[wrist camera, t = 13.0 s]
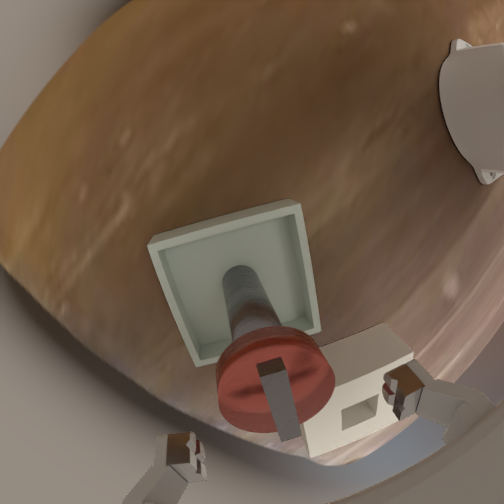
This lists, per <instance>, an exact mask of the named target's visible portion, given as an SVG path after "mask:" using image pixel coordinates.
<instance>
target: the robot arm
mask: <svg viewBox="0 0 504 504" xmlns="http://www.w3.org/2000/svg"><path fill="white" fill-rule="evenodd" d="M439 90H440V99H441V105H442V110H443V114H444V118H445V121H446V124H447V127H448V130H449V132H450V135H451V137H452V139H453V141H454V143H455V145H456V147H457V148H458V150H459V151H460V153H461V154H462V155H463V157H464V158H465V159H466V160H467V161H468V162H469V163H470V164H471V165H472V166H473V168H474V170H475V172H476V174H477V177H478V179H479V181H480V182H481V183H482V184H490V183H492V182H493V181H495V180H496V179H497V178H499V177H500V176H501V175H503V174H504V43H496V44H488V45H481V46H474V47H473V46H471V45H469V44H468V43H466V42H465V41H463V40H461V39H454V40H452V43H451V52H450V55H449V56H448V58H447V59H446V60H445V61H444V63H443V65H442V68H441V71H440V78H439ZM383 380H384V381H385V383H384V384H383V386H382V393H383V397H384V399H385V401H386V402H387V404H389V405H391V406H393V410H392V411H393V413H394V414H395V416H396V417H397V418H398V420H399V421H401V420H403V419H405V418H407V417H409V416H410V415H412V414H414V413H416V414H417V415H419V416H422V417H424V418H426V419H428V420H431V421H433V422H435V423H437V424H440V425H442V426H444V427H447V430H446V431H445V434H444V436H443V438H442V440H443V441H444V443H445V444H446V446H444V447H442V448H441V449H440V450H438V451H436V452H435V453H433V454H432V455H430V456H429V457H427V458H425V459H423V460H422V461H420V462H418V463H417V464H415V465H413V466H412V467H410V468H408V469H406V470H404V471H402V472H400V473H398V474H396V475H394V476H392V477H390V478H388V479H386V480H384V481H382V482H380V483H378V484H376V485H373V486H371V487H369V488H367V489H364V490H362V491H359V492H357V493H355V494H352V495H349V496H347V497H344V498H341V499H339V500H336V501H333V502H330V503H327V504H504V399H503V400H502V401H501V402H500V403H499V404H498V405H497V406H495V405H494V404H493V403H492V402H491V401H490V400H489V399H488V398H487V397H486V396H485V395H484V394H483V393H482V392H481V391H480V390H478V389H473V388H470V387H466V386H462V385H458V384H454V383H451V382H447V381H443V380H440V379H437V380H434V378H433V377H432V376H431V375H430V374H429V373H428V372H427V371H426V370H425V369H424V368H423V367H422V366H421V364H420V363H419V362H418V361H417V360H415V359H413V360H411V361H409V362H407V363H405V364H402V365H400V366H398V367H396V368H394V369H392V370H390V371H388V372H386V373H385V374H384V376H383ZM205 460H206V457H205V451H204V448H203V446H202V443H201V442H200V441H199V440H196V435H195V434H194V433H193V432H185V433H176V434H166V435H158V437H157V439H156V447H155V459H154V466H151V467H150V468H149V469H148V471H147V472H146V473H145V475H144V476H143V477H142V478H141V479H140V481H139V482H138V483H137V484H136V485H135V486H134V488H133V489H132V490H131V491H130V492H129V494H128V495H127V496H126V497H125V498H124V500H123V503H122V504H177V503H178V501H179V500H180V498H181V496H182V494H183V493H184V491H185V489H186V487H187V486H188V483H191V482H199V481H207V472H206V467H205V466H204V465H203V463H204V461H205Z"/></svg>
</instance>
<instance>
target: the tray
mask: <svg viewBox="0 0 504 504" xmlns="http://www.w3.org/2000/svg"><path fill="white" fill-rule="evenodd" d="M147 248H148V251H149V253H150V256H151V259H152V262H153V265H154V268H155V270H156V273H157V276H158V278H159V281H160V284H161V286H162V289H163V292H164V294H165V297H166V299H167V302H168V304H169V307H170V309H171V312H172V314H173V317H174V319H175V321H176V324H177V326H178V329H179V331H180V333H181V335H182V338H183V340H184V342H185V345H186V347H187V349H188V351H189V353H190V356H191V358H192V360H193V362H194V364H195V366H196V367H200V366H204V365H208V364H212V363H216V362H218V360H219V358H220V356H221V354H222V353H223V351H224V350H225V349H226V348H227V347H228V346H229V345H230V344H231V343H232V337H231V331H230V326H229V320H228V315H227V309H226V303H225V298H224V292H223V286H222V280H223V277H224V275H225V273H226V272H227V271H228V270H229V269H230V268H232V267H234V266H238V265H245V266H248V267H250V268H252V269H253V270H254V271H255V272H256V273H257V275H258V277H259V279H260V281H261V284H262V286H263V288H264V290H265V292H266V294H267V296H268V298H269V300H270V302H271V304H272V306H273V308H274V310H275V312H276V314H277V316H278V318H279V320H280V322H281V324H282V326H287V327H292V328H296V329H299V330H301V331H303V332H305V333H307V334H308V335H312V334H315V333H318V332H321V325H320V317H319V310H318V303H317V296H316V289H315V283H314V276H313V270H312V264H311V258H310V252H309V246H308V240H307V234H306V229H305V223H304V218H303V213H302V208H301V203H298V202H296V201H294V200H291V199H289V198H288V199H284V200H280V201H276V202H272V203H268V204H264V205H260V206H256V207H252V208H248V209H245V210H241V211H237V212H233V213H230V214H226V215H222V216H219V217H215V218H211V219H208V220H204V221H201V222H197V223H194V224H190V225H187V226H183V227H180V228H176V229H173V230H169V231H166V232H163V233H159V234H156V235H154V236H153V237H152V239H151V240H150V241H149V243H148V244H147Z"/></svg>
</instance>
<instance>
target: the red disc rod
mask: <svg viewBox="0 0 504 504" xmlns="http://www.w3.org/2000/svg"><path fill="white" fill-rule="evenodd" d="M222 286H223V292H224V298H225V303H226V309H227V315H228V320H229V326H230V331H231V337H232V343H231V344H230V345H229V346H228V347H227V348H226V349H225V350H224V351H223V353H222V354H221V356H220V358H219V360H218V363H217V366H216V382H217V392H218V401H219V408H220V411H221V413H222V415H223V417H224V418H225V419H226V420H227V421H228V422H229V423H230V424H232V425H233V426H235V427H237V428H239V429H242V430H245V431H249V432H256V433H270V432H278V433H279V436H280V439H281V442H283V441H286V440H290V439H293V438H296V437H299V436H302V434H301V429H300V424H302V423H304V422H306V421H307V420H309V419H311V418H312V417H313V416H315V415H316V414H317V413H318V412H319V411H321V410H322V409H323V408H324V406H325V405H326V404H327V403H328V401H329V400H330V398H331V396H332V394H333V391H334V388H335V374H334V372H333V369H332V368H331V366H330V365H329V363H328V361H327V360H326V358H325V357H324V355H323V353H322V352H321V350H320V349H319V347H318V345H317V344H316V342H315V341H314V340H313V338H312V337H311V336H309V335H308V334H307V333H305V332H303V331H301V330H299V329H296V328H292V327H287V326H282V324H281V322H280V320H279V318H278V316H277V314H276V312H275V310H274V308H273V306H272V304H271V302H270V300H269V298H268V296H267V294H266V292H265V290H264V288H263V286H262V284H261V281H260V279H259V277H258V275H257V273H256V272H255V271H254V270H253V269H252V268H250V267H248V266H245V265H238V266H234V267H232V268H230V269H229V270H228V271H227V272H226V273H225V275H224V277H223V280H222Z"/></svg>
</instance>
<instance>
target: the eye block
mask: <svg viewBox="0 0 504 504" xmlns="http://www.w3.org/2000/svg"><path fill="white" fill-rule="evenodd" d="M319 349H320V350H321V352H322V353H323V355H324V357H325V358H326V360H327V361H328V363H329V365H330V366H331V368H332V369H333V372H334V374H335V388H334V391H333V394H332V396H331V398H330V400H329V401H328V403H327V404H326V405H325V406H324V408H323V409H322V410H321V411H319V412H318V413H317V414H316V415H315V416H313V417H312V418H311V419H309V420H307V421H306V422H304V423H302V424H300V429H301V434H302V438H303V440H304V443H305V446H306V448H307V451H308V453H309V456H310V458H312V457H315V456H318V455H321V454H324V453H326V452H329V451H332V450H334V449H337V448H339V447H342V446H344V445H347V444H349V443H352V442H354V441H356V440H359V439H361V438H363V437H365V436H368V435H370V434H372V433H374V432H376V431H378V430H380V429H382V428H384V427H386V426H388V425H390V424H392V423H394V422H396V421H398V418H397V417H396V416H395V414H394V413H393V411H392V410H393V406H391V405H389V404H387V402H386V401H385V399H384V397H383V393H382V386H383V384H384V383H385V381H384V380H383V376H384V374H385V373H386V372H388V371H390V370H392V369H394V368H396V367H398V366H400V365H402V364H405V363H407V362H409V361H411V360H413V354H414V351H413V350H412V349H411V348H410V347H409V346H408V345H407V344H406V343H405V342H404V341H403V340H402V339H401V338H400V337H399V336H398V335H397V334H396V333H395V332H394V331H392V330H391V329H390V328H389V327H388V326H387V325H386V324H385V323H384V322H383V323H381V324H378V325H376V326H373V327H371V328H369V329H366V330H364V331H361V332H359V333H356V334H354V335H351V336H349V337H346V338H344V339H341V340H338V341H336V342H333V343H330V344H327V345H325V346H322V347H319Z"/></svg>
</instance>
